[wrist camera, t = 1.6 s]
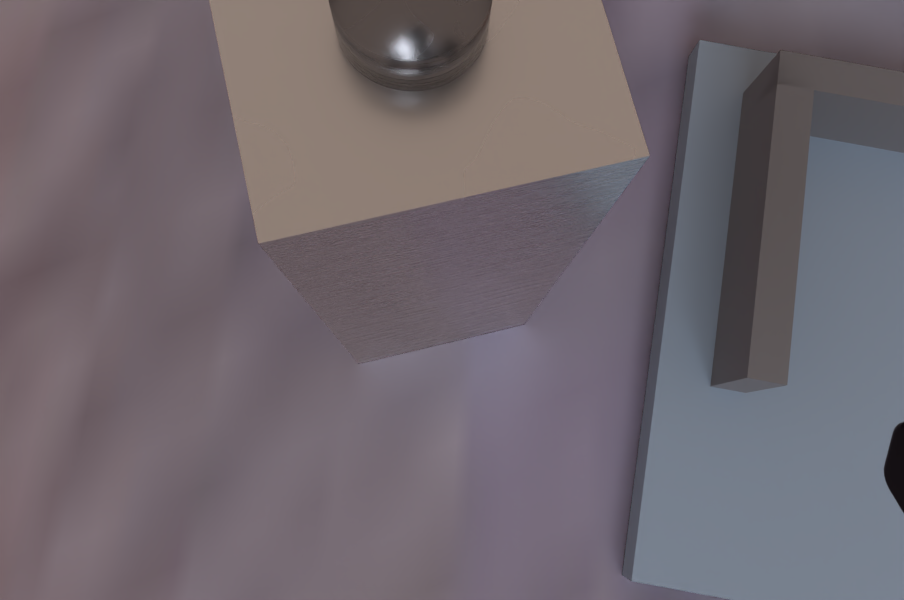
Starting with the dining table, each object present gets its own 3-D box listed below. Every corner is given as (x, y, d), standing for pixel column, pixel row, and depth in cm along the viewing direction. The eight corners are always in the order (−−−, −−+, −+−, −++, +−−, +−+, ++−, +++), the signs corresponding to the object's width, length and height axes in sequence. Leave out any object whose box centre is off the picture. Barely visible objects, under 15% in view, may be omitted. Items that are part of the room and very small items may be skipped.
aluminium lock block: (524, 324, 22) (669, 128, 9) (358, 364, 22) (242, 224, 8) (482, 168, 23) (556, -227, 10) (322, 203, 23) (166, -155, 9)
